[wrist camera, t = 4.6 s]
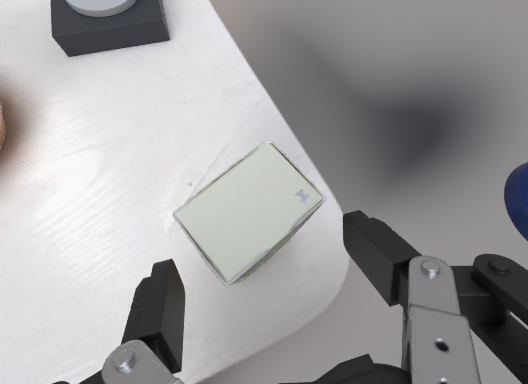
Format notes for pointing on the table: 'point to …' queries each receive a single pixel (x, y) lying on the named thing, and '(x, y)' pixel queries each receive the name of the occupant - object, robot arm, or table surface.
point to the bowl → (2, 128)
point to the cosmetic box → (248, 212)
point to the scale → (106, 24)
